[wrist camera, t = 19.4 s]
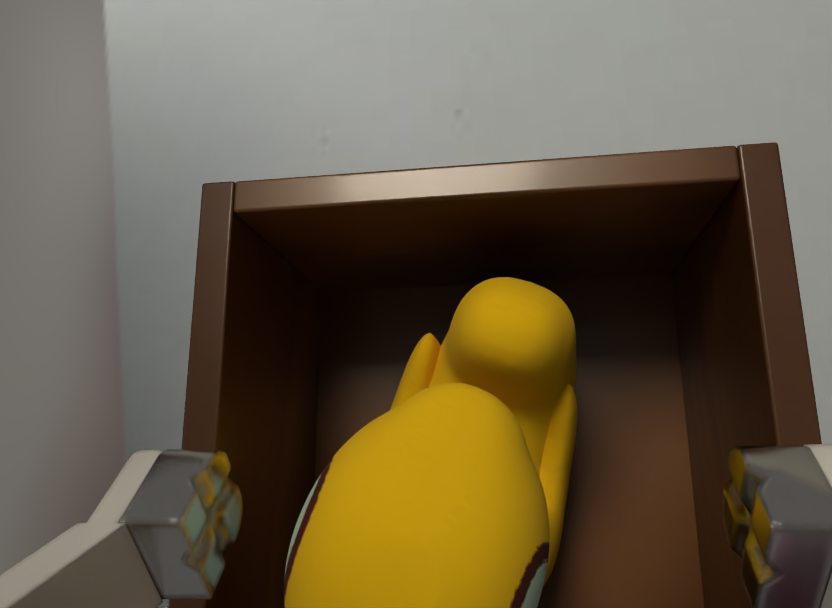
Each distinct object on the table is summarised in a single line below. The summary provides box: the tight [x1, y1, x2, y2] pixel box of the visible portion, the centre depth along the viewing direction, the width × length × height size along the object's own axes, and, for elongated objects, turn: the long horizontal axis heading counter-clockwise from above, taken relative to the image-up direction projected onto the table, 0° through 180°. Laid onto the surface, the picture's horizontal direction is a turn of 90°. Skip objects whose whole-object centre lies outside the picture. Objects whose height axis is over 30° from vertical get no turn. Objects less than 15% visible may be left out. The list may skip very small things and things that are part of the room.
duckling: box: [284, 277, 578, 608], centre depth 15 cm, size 11×5×10 cm, turn 159°
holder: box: [169, 143, 822, 608], centre depth 17 cm, size 13×15×8 cm
